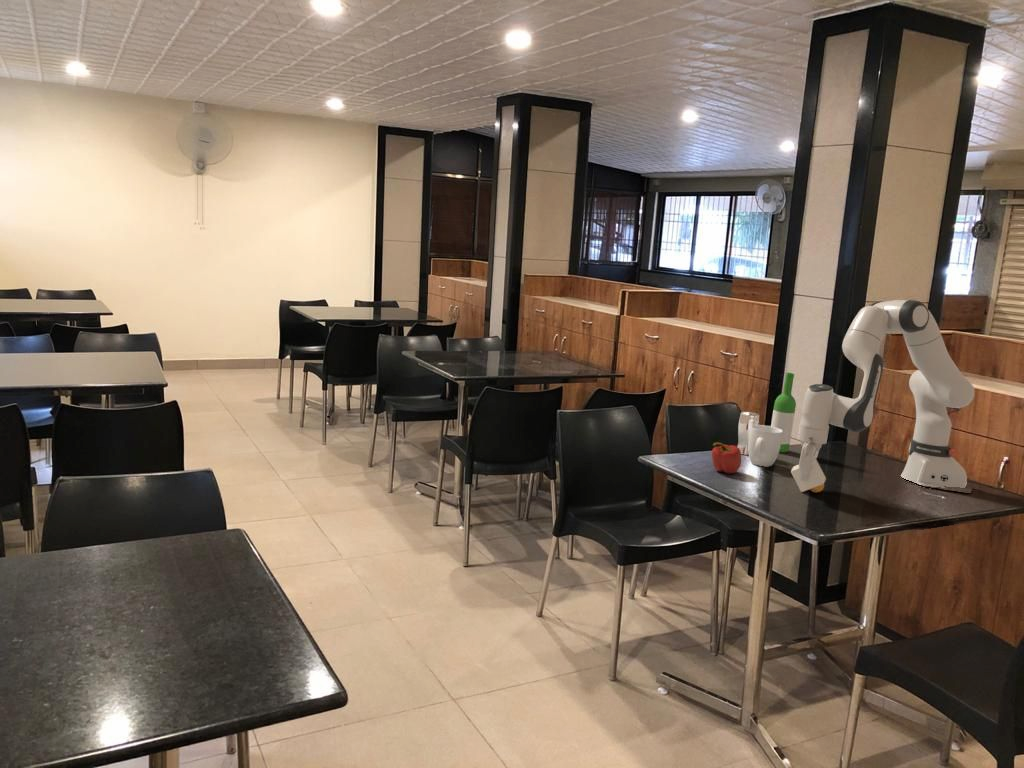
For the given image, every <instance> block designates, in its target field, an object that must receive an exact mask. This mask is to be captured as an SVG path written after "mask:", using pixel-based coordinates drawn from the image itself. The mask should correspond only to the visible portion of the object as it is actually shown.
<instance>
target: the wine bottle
mask: <svg viewBox="0 0 1024 768" xmlns="http://www.w3.org/2000/svg"><path fill="white" fill-rule="evenodd" d="M794 379H795V373H794V372H786V373H785V378H784V384H783V389H782V393H780V394H779V395H778V396H777V397H776V399H775V400H774V403H773V404H774V405H773V410H772V416H771V424H770V426H771V427H775V428H778V429H781V430H782V431H783V434H782V440H781V446H780V450H779V453H780V454H781V453H782V454H784V453H787V452H788V451H789V450H790V445H791V438H792V432H793V426H794V419H795V413H796V408H797V403H796V399H795V397H794V396H793V395H792V392H793V391H792V390H793V385H794Z"/></svg>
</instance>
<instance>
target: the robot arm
mask: <svg viewBox="0 0 1024 768" xmlns="http://www.w3.org/2000/svg"><path fill="white" fill-rule="evenodd" d="M886 334H890V335H891V334H892V335H895V334H902V336H903V339H904V342H905V345H906V348H907V350H908V353H909V356H910V359H911V362H912V364H913V365H914V366H915V368H917V369H918V370H915V371H914V372H913V373H912V374H911V375H910V377H909V382H908V385H909V386H908V387H909V389H910V391H911V393H912V394H913V398H914V404H915V414H916V415H915V425H914V429H913V435H912V436H913V437H912V438H911V440H910V443H909V448H908V458H907V461H906V463H905V466H904V469H903V470H902V473H901V474H900V476H901V477H902V478H904V479H906V480H909V481H912V482H914V483H917V484H919V485H923V486H931V487H941V488H945V487H944V486H946V487H960V488H965V487H966V485H967V483H968V482H967V481H968V477H967V472H966V470H965V468H964V467H963V466H962V465H961V464H960V463H959V462H958V461H957V460H956V459H955V458H954V457H953V456H955V455H956V450H955V449H954V447H952V446H950V445H949V441H950V436H951V431H952V427H953V426H952V420H951V419H950V417H949V415H948V411H947V408H950V409H951V408H953V409H954V408H955V409H962V408H965V407H967V406H969V405H970V404H971V403H972V402H973V400H974V397H975V387H974V385H973V384H972V382H970V381H969V380H968V379H967V378H966V377H965V376H964V374H963V373H962V372H961V371H960V369H959V368H958V366H957V365H956V364H955V362H954V360H953V359H952V357H951V356H950V354H949V352H948V349H947V347H946V344H945V342H944V338H943V335H942V334H941V330H940V328H939V326H938V322H936V319H935V317H934V315H933V314H932V312H931V311H930V310H929V309H928V308H927V306H926V305H925V304H924V303H923V302H922V301H919V300H915V299H908V300H907V299H892V300H885V301H876V302H873V303H871V304H869V305H865V306H864V307H862V308H861V309H860V310H859V311H858V312H857V314H856V315H855V317H854V318H853V320H852V322H851V323H850V325H849V328H848V329H847V332H846V333H845V335H844V337H843V340H842V344H841V349H842V352H843V355H844V356H845V357H846V359H848V361H850V363H852V365H854V366H856V367H857V368H859V369H861V370H862V371H863V378H862V383H861V388H860V391H859V395H858V397H856V398H850V397H848V396H847V397H846V396H843V395H839V394H837V393H836V392H834V389H833V387H832V386H831V385H828V384H823V383H816V384H815V383H814V384H811V385H809V386H807V388H806V391H805V394H804V398H803V400H802V401H803V402H802V406H801V419H800V420H799V424H798V431H797V437H796V438H797V440H799V441H800V445H801V446H802V447H801V452H800V456H799V460H798V462H799V463H798V465H799V468H800V469H802V475H801V480H802V481H807V478H808V473H809V470H811V468H812V466H813V463H814V461H815V459H816V460H817V458H818V456H819V454H820V453H819V452H820V449H821V448H822V445H826V444H827V442H828V441H827V440H828V435H829V431H830V425H832V426H835V427H840V428H843V429H845V430H848V431H851V432H854V433H861V432H862V431H865V430H867V429H868V428H870V426H871V425H872V423H873V421H874V419H873V418H874V413H875V405H876V400H877V397H878V391H879V388H880V384H881V380H882V374H883V369H884V359H883V357H882V356H881V355H880V348H881V346H882V343H883V340H884V338H885V335H886ZM829 424H830V425H829ZM901 477H900V478H901ZM902 478H901V479H902ZM904 479H903V480H904ZM906 480H905V481H906ZM909 481H908V482H909ZM914 483H913V484H914Z"/></svg>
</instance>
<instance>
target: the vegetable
mask: <svg viewBox="0 0 1024 768" xmlns="http://www.w3.org/2000/svg"><path fill="white" fill-rule="evenodd" d="M712 446H713V448H712V451H711V457H712V464H713V467H714V468H715V470H716V471H718V472H720V473H721V472H722V473H723V472H724V473H725V474H735V473H737V472H738V471H739V469H740V468H741V466H742V465H741V464H742V454H741V452H740V449H739V448H738V447H737V446H738V445H734V444H733V445H732V444H731V445H728V444H723V443H722V442H718V441H717V442H714V443H713V444H712Z"/></svg>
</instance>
